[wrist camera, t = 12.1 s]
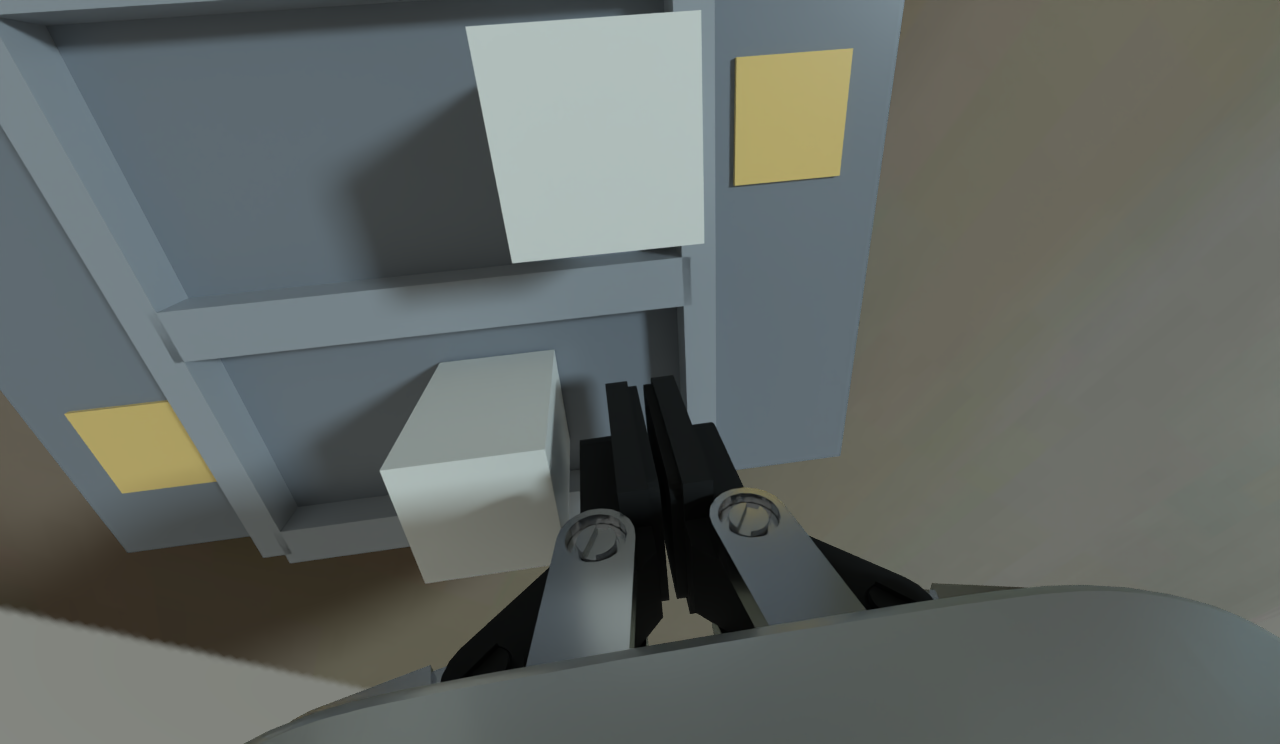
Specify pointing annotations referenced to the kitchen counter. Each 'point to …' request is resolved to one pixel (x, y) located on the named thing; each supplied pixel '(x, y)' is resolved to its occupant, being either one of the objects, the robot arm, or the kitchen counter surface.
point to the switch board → (394, 249)
